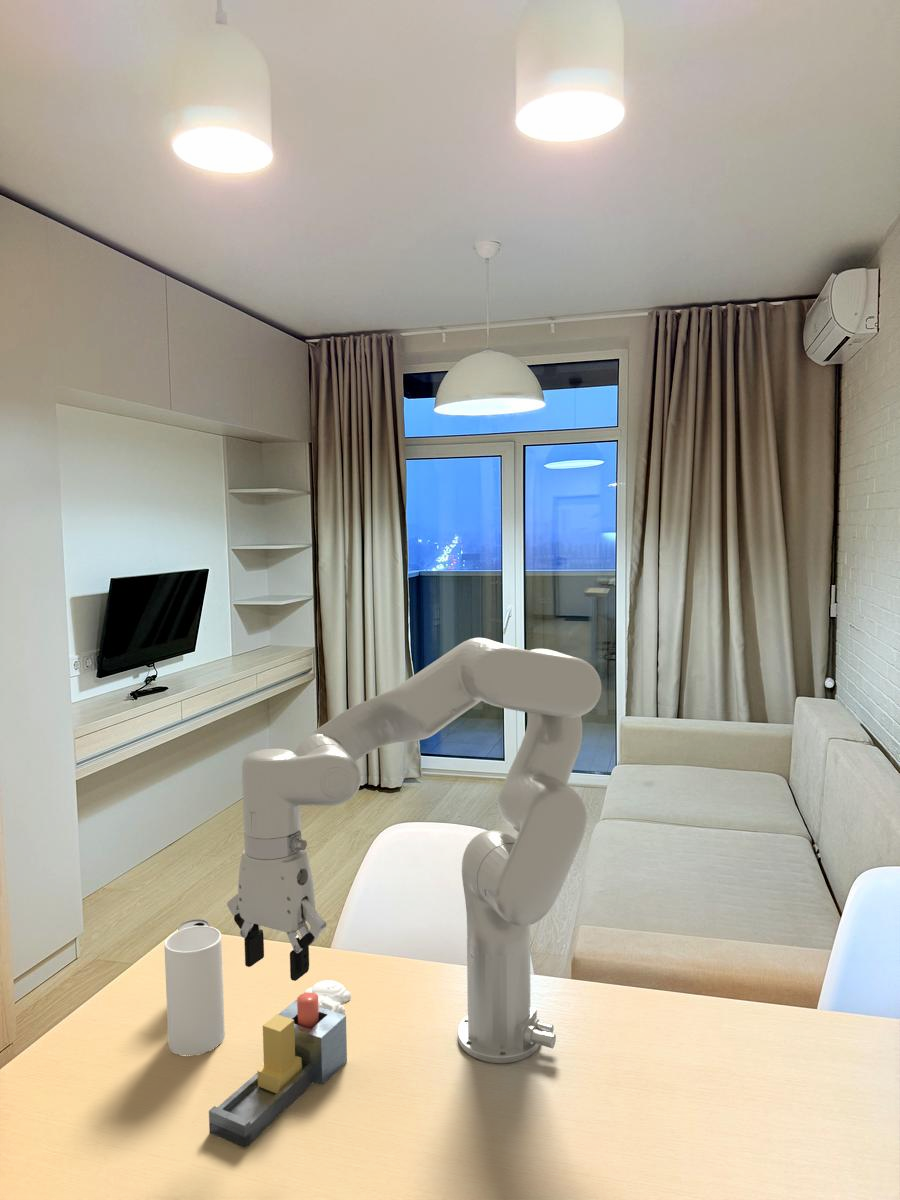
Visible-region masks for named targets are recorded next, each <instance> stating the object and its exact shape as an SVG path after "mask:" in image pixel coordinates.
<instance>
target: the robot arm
mask: <svg viewBox="0 0 900 1200" xmlns="http://www.w3.org/2000/svg"><path fill="white" fill-rule="evenodd" d="M601 695H602V681H601V678H600V675H599V673H598V671H597V670H596V668H595V667H594V666H592V665H591V664H590V663H589V661H586V660H584V659H582V658H579V657H575V656H573V655H572V656H571V655H568V654H566V653H563V652H559V651H556V650H552V649H549V648H534V649H530V650H529V649H523V648H520V647H516V646H512V645H508V644H505V643H502V642H499V641H495V640H492V639H489V638H486V637H485V638H484V637H474V638H469V639H467V640H464V641H462V642H461V643H459V644H458V645H456V646H455V647H454V648H452V649H451V650H449V651H448V652H446V653H445V654H443V655H442V656H440V657H439V658H437V659H436V660H434V661H433V662H432V663H430V664H428V665H427V666H425V667H424V668H423V669H421V670H420V671H418V672H417V673H415V674H414V675H412V676H410V677H409V678H408V679H407V680H405V681H403V682H402V683H400V684H399V685H397V686H396V687H393V688H392V689H390V690H388V691H385V692H382V693H380V694H378V695H376V696H374V697H372V698H370V699H368V700H365V701H363V702H360V703H358V704H356V705H354V706H351V707H350V708H348V709H346V710H344V711H343V712H340V713H338V714H337V715H336V716H334V717H333V718H331V719H330V720H328V721H327V722H326V723H324V724H322V725H321V726H320V727H318V728H317V729H316V730H314V731H312V732H311V733H309V734H308V735H307V736H306V737H305V738H304V739H303V740H302V741H301V742H300V743H299V744H298V746H297V747H296V749H295V751H294V752H293V751H292V750H289V749H286V748H274V747H273V748H263V749H259V750H258V749H257V750H255V751H252V752H250V753H249V754H247V755H246V756H245V757H244V759H243V760H242V764H241V783H242V811H243V814H242V815H243V838H244V839H243V841H244V844H243V845H244V846H243V847H244V849H243V851H242V853H241V857H240V864H239V869H238V870H239V873H238V882H237V883H238V884H237V885H238V886H237V888H238V889H237V894H236V895H234V896H233V897H232V898H230V900H227V903H226V906H227V908H228V910H229V911H230V913H231V914H232V916H233V921H234V922H235V924H236V926H237V927H238V928H239V935H240V937H241V938H242V939H244V941H243V942H244V965H245V967H247V968H250V967H253V966H254V965H255V964H256V963H258V962H260V961H261V960H262V959H264V957H265V945H264V943H265V942H264V939H265V938H264V930H263V929H261V928H260V927H265V928H268V929H271V930H276V931H280V932H284V933H286V934H287V938H288V940H289V942H290V944H291V946H292V950H291V951H290V953H289V969H290V970H289V972H290V973H289V974H290V977H289V978H290V980H291V981H294V982H296V981H297V980H299V979H300V978H302V977H303V976H304V975H305V974H307V973H308V971H309V970H310V952H309V951H310V948H309V947H310V946H311V945H312V944H313V943H314V941H315V940H317V939H318V938H319V936H320V935H321V934H322V932H323V931H324V930H325V929H326V927H327V922H326V921H325V920H324V919H323V916H321V915H320V914H319V912H318V911H317V910H316V899H315V887H314V881H313V880H314V879H313V874H312V873H313V872H312V868H311V863H310V859H309V856H308V853H307V851H306V848H307V846H308V842H307V840H305V839H303V838H302V813H301V811H302V810H301V806H306V807H308V806H310V807H312V806H313V807H335V806H340V805H342V804H345V803H347V802H348V801H350V800H351V799H352V798H353V797H354V796H355V795H356V794H357V793H358V791H359V789H360V786H361V780H362V779H361V778H362V777H361V771H360V768H359V766H358V763H357V762H356V761H358V760H359V759H361V758H363V757H364V756H366V755H367V754H370V753H371V752H372V751H375V750H378V749H379V748H381V747H384V746H385V747H386V746H388V745H391V744H396V743H397V744H398V743H404V742H405V743H408V742H415V741H416V742H417V741H421V740H426V739H428V738H429V739H430V738H431V737H433V736H434V735H436V734H437V733H438V732H440V731H441V730H442V729H444V728H445V727H446V726H448V725H449V724H450V723H452V722H453V721H455V720H456V719H457V718H459V717H461V716H462V715H464V713H466V712H468V711H469V710H470V709H473V708H474V707H475V706H477V705H478V704H479V703H481V702H484V703H486V704H487V705H488V704H489V705H491V706H493V707H496V708H497V707H498V708H502V709H507V710H510V711H511V710H512V711H516V712H522V713H527V725H526V729H525V733H524V736H523V739H522V741H521V743H520V746H519V748H518V751H517V752H516V755H515V757H514V760H513V762H512V764H511V766H510V768H509V770H508V773H507V775H506V777H505V779H504V782H503V784H502V786H501V788H500V790H499V793H498V796H497V809H498V812H499V814H500V816H501V818H502V819H503V821H505V822H506V823H507V824H508V825H509V826H510V827H512V828H513V829H514V830H515V831H516V832H517V837H514V836H512V835H510V834H508V833H506V832H504V831H501V830H493V829H492V830H486V831H483V832H480V833H478V834H477V835H475V836H474V837H473V838H472V839H471V840H470V841H469V843H467V845H466V847H465V850H464V852H463V856H462V860H461V879H462V885H463V894H464V900H465V909H466V910H465V911H466V967H467V968H466V969H467V970H466V973H467V974H466V979H467V980H466V981H467V982H466V985H467V987H466V989H467V993H466V994H467V999H466V1000H467V1016H465V1017H464V1018H463V1019H462V1020H461V1022H459V1025H458V1027H457V1041H458V1043H459V1045H460V1047H461V1048H462V1049H463V1051H464V1052H466V1053H467V1054H468V1055H469V1056H471V1057H473V1058H474V1059H478V1060H480V1061H482V1062H483V1061H484V1062H487V1063H494V1064H506V1063H507V1064H509V1063H514V1062H518V1061H522V1060H524V1059H526V1058H528V1057H531V1055H532V1054H534V1053H535V1052H536V1051H537V1050H538V1048H539V1047H540V1046H543V1047H546V1048H550V1049H554V1047H555V1045H556V1041H557V1040H556V1039H557V1036H556V1034H555V1033H554V1030H555V1029H554V1025H553V1024H551V1023H547V1022H541V1021H540V1019H539V1018H537V1017H538V1016H537V1015H538V1013H537V1008H536V1007H532V1006H531V935H532V934H531V925H534V924H536V923H538V922H540V921H541V920H543V918H544V917H546V916H547V915H548V913H550V910H551V909H552V907H553V906H554V905H555V903H556V901H557V898H558V897H559V896H560V893H561V891H562V888H563V886H564V883H565V881H566V879H567V877H568V875H569V873H570V871H571V868H572V865H573V864H574V861H575V859H576V856H577V854H578V852H579V851H580V850H579V849H580V847H581V845H582V842H583V840H584V837H585V833H586V830H587V818H588V817H587V809H586V806H585V804H584V801H583V798H582V797H581V796H580V795H579V793H577V791H576V790H574V789H573V788H572V787H570V786H569V785H568V782H569V779H570V776H571V775H572V772H573V769H574V766H575V763H576V761H577V758H578V755H579V753H580V750H581V747H582V746H581V745H582V740H583V721H582V716H584V715H586V714H588V713H589V712H591V711H592V710H593V709H594V708H595V707H596V705H597V704H598V702H599V700H600V698H601ZM307 923H308V924H309V926H310V928H309V927H308V924H307ZM298 932H299V934H300V937H301V938H300V937H299V935H298Z"/></svg>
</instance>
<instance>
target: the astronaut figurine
mask: <svg viewBox="0 0 900 1200" xmlns="http://www.w3.org/2000/svg"><path fill="white" fill-rule="evenodd" d="M304 993H315V994H317V995H318V1006H319V1007H321V1008H324V1009H327V1010H330V1011H333V1012H337V1013H340V1014H343V1015H345V1014H346V1008H345V1007H344V1005H343V1003H347V1002H349V1001H350V1000H351V999H352V994H351V992H350V991H349V990H347V988H346V987H345V986H344V984H342V983H340V982H338V981H336V980H332V979H331V980H330V979H329V980H328V979H325V980H320V981H318V982H316V983H315V984H313V985H312V986H311V987H308V988H306V989H305V991H304ZM304 993H303V994H304Z"/></svg>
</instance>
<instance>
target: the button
mask: <svg viewBox="0 0 900 1200" xmlns="http://www.w3.org/2000/svg"><path fill="white" fill-rule="evenodd" d="M296 998H297V999H296V1000H297V1012H298V1025H300V1026H303V1027H306V1028H309V1029H312V1028H313V1027H314V1026H315V1025H316V1024H318V1023H319V1006H318V995H317V994H315V993H301V994H300V995H299V996H298V997H296Z"/></svg>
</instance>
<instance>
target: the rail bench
mask: <svg viewBox="0 0 900 1200" xmlns="http://www.w3.org/2000/svg"><path fill="white" fill-rule="evenodd" d="M277 1014H278V1015H281V1016H284V1017H287V1018H290V1019H293V1020H294V1034H295V1056H298V1057H301V1058H302V1071H300V1072H299V1073H298V1074H297V1075H296V1076H295V1077H294V1078H293V1079H292V1080H291V1081H290V1082H289V1083H288V1084H286V1085H285V1086H284V1087H283V1088H282V1089H281V1090H280V1091H279V1092H278V1093H274V1092H271V1091H269V1090H266V1089H264V1088H261V1087H259V1086H258V1073H257V1072H256V1073H255V1074H254V1075H253V1076H252V1077H250V1078H249V1079H248V1080H247V1081H246V1082H245V1083H243V1084H242V1085H241V1086H240V1087H239V1088H238V1089H237V1090H235V1091H234V1092H233V1093H232V1094H231V1095H230V1096H228V1097H227V1098H226V1099H225V1100H223V1102H222V1103H220V1104H219V1105H218V1106H212V1108H210V1109H209V1110H208V1123H209V1126H208V1127H209V1134H211V1135H213V1136H216V1137H218V1138H220V1137H221V1139H223V1140H225V1141H227V1142H230V1143H232V1144H234V1145H236V1146H239V1147H241V1148H243V1149H244V1150H245V1149H247V1148H248V1147H249V1146H250V1145H251V1144H252V1143H253V1142H255V1140H256V1139H257V1138H258V1137H259V1136H260V1135H262V1133H263V1132H264V1131H265V1130H267V1128H269V1127H270V1126H271V1124H272V1123H274V1121H276V1120H277V1119H278V1118H279V1117H280V1116H281V1115H282V1113H283V1114H284V1112H285V1111H286V1110H287V1109H288V1108H289V1107H290V1106H291V1105H292V1104H293V1103H294V1102H295V1101H296V1100H297V1099H298V1098H299V1097H301V1095H302V1094H304V1093H305V1091H306V1090H308V1089H309V1087H311V1086H312V1085H313V1084H317V1085H319V1086H324V1085H325V1084H326V1083H327V1082H328V1081H330V1079H331V1078H332V1077H333V1076H334V1075H335V1074H336V1073H337V1072H338V1071H339V1070H340V1069H341V1068H342V1067H343V1066H344V1065H345V1064H346V1063H347V1062H348V1049H347V1044H348V1042H347V1015H345V1014H344V1015H343V1014H340V1013H337V1012H333V1011H330V1010H327V1009H324V1008H321V1007H319V1023H318V1024H316V1025H315V1026H314V1027H313V1028H312V1029H309V1028H306V1027H303V1026H300V1025H298V1012H297V999H296V1000H294V1001H293V1002H292V1003H290V1004H289V1005H288V1006H287V1007H286V1008H284V1009H283V1010H282V1011H280V1012H279V1013H277ZM312 1083H313V1084H312Z"/></svg>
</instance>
